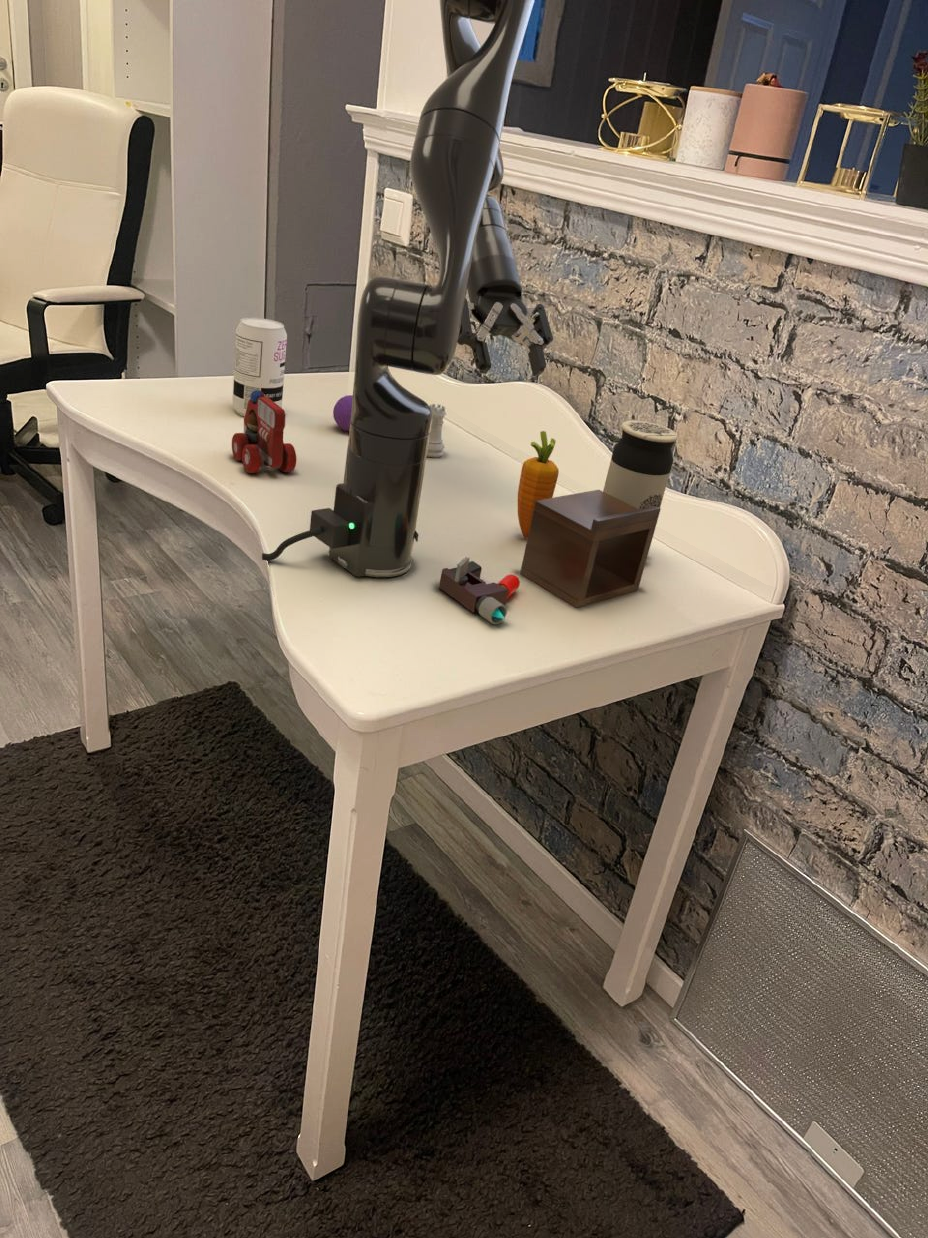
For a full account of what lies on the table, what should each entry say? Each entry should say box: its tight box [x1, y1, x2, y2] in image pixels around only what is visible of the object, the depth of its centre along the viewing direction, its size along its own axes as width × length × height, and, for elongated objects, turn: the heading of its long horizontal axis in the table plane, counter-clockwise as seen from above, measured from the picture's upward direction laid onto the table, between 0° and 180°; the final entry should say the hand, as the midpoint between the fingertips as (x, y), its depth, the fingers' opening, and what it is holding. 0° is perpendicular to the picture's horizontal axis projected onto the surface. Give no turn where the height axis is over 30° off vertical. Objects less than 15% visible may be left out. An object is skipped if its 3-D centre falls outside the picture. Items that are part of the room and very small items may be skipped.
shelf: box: [519, 489, 661, 609], centre depth 118 cm, size 12×10×11 cm
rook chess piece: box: [426, 403, 447, 459], centre depth 154 cm, size 4×4×8 cm
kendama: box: [332, 394, 353, 432], centre depth 163 cm, size 6×6×20 cm
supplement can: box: [231, 317, 288, 417], centre depth 156 cm, size 8×8×15 cm
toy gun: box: [438, 557, 521, 625], centre depth 111 cm, size 10×12×5 cm
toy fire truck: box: [231, 390, 297, 474], centre depth 136 cm, size 7×12×10 cm, turn 30°
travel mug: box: [602, 420, 679, 510], centre depth 127 cm, size 8×8×18 cm
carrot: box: [517, 430, 560, 539], centre depth 127 cm, size 5×5×15 cm
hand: (513, 372), depth 130 cm, fingers open, 8 cm apart
